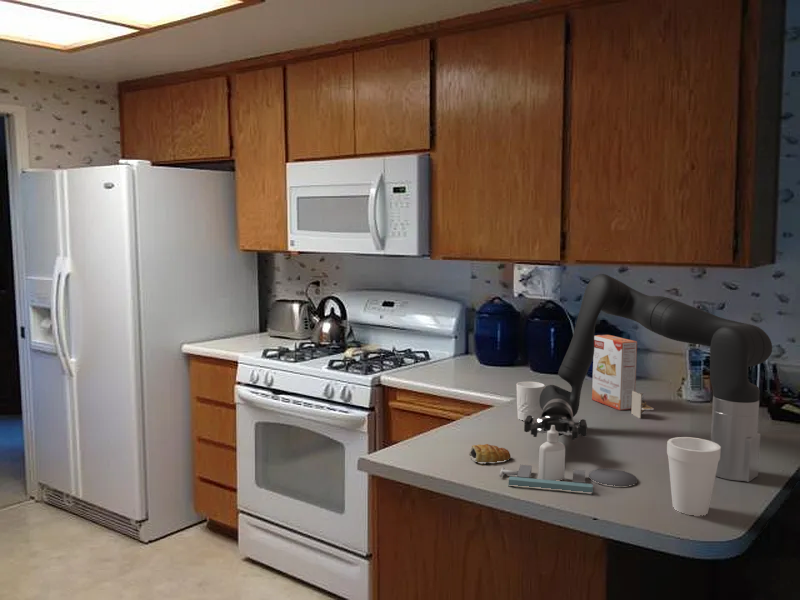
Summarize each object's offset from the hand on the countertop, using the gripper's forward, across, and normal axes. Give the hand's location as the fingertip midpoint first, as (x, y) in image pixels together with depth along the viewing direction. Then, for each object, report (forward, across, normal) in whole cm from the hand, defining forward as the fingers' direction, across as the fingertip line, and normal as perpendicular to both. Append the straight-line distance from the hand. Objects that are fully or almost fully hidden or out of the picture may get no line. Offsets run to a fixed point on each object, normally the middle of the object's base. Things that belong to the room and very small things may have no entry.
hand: (554, 434), depth 164 cm
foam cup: (+19, +27, +8) cm, 34 cm away
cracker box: (-65, +15, +8) cm, 67 cm away
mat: (+5, +13, +8) cm, 16 cm away
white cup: (-41, -8, +8) cm, 42 cm away
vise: (+10, -1, +7) cm, 13 cm away
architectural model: (-53, +22, +8) cm, 58 cm away
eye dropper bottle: (+9, 0, +8) cm, 12 cm away
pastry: (-1, -15, +8) cm, 17 cm away
